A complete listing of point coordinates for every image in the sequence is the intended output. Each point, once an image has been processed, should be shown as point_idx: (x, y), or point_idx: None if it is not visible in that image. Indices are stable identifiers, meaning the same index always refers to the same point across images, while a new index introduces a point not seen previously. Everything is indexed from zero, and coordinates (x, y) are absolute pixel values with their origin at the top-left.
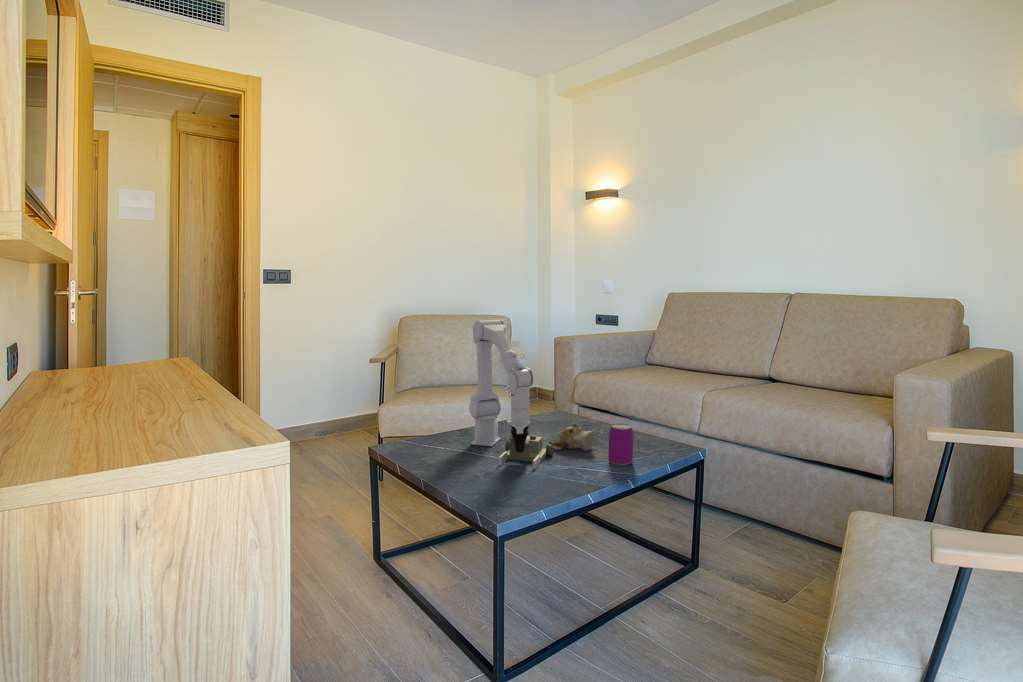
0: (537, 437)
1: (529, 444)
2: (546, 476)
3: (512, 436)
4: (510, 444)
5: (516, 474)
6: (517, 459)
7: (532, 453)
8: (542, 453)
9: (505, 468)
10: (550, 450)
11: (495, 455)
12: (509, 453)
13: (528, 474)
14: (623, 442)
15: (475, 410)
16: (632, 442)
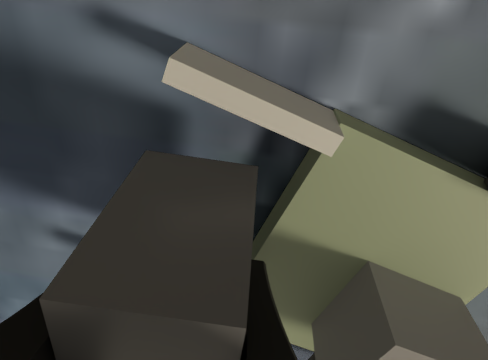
0: None
1: (353, 340)
2: (19, 282)
3: (158, 343)
4: (87, 244)
5: (4, 149)
6: (282, 196)
7: (315, 299)
8: (302, 339)
9: (109, 89)
10: None
11: (455, 33)
12: (353, 164)
13: (25, 213)
14: None
15: None
16: None
